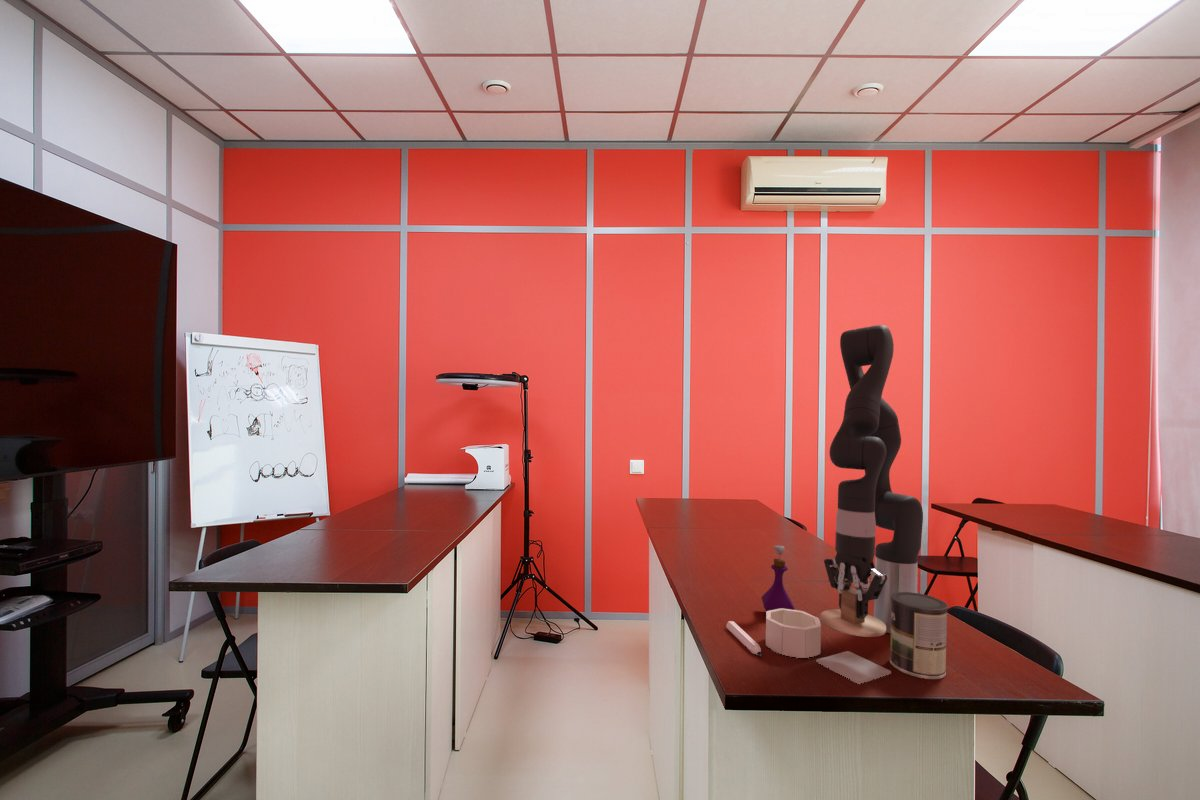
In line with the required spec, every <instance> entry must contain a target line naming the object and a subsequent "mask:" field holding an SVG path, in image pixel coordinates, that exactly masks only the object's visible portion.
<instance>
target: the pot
mask: <svg viewBox="0 0 1200 800" xmlns="http://www.w3.org/2000/svg"><path fill="white" fill-rule="evenodd" d="M765 613H766V614H765V615H766V616H765V647H767V648H768V649H769V648H770V649H771V651H772V652H773V653H775V652H776V653H775V654H778V653H779V654H778V655H780V654H782V655H781V656H783V655H785V656H784V657H786V656H790V657H789V658H791V657H796V658H795V659H798V658H808V659H810V658H809V657H813V658H815V657H817V656H819V655H821V650H822V649H821V646H822V645H821V644H822V641H821V640H822V639H821V638H822V624H821V620H820V617H817V616H814V615H812V614H810V613H808V612H806V611H804V610H803V611H802V610H800V609H795V610H791V609H784V608H782V609H781V608H780V609H775V610H770V611H766V610H765ZM770 649H769V650H770ZM814 656H815V657H814Z"/></svg>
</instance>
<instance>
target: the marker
mask: <svg viewBox="0 0 1200 800" xmlns="http://www.w3.org/2000/svg"><path fill="white" fill-rule="evenodd" d="M726 623H727V624H726V625H725V627H726V628H727V629H726V630H728V631H729V632H730V633H731V634H732V635H733V636H734V637H735V638H736V639H737V640H738V641H739V642H740V643H741V644H742V645H743V646H744V647H745V646H746V647H747V648H746V647H745V648H746V649H747V650H749V651H750V653H752V654H754V655H755V654H756V656H759V657H763V656H762V653H761V652H762V647H760V644H759V643H757V641H755V639H753V638H752V637H751V636H750V635H749V634H748V633H747V632H746V631H744V630H743V628H741V627H740V626H739V625H738V624H737V623H736V622H735V621H733V620H729V621H727V622H726Z"/></svg>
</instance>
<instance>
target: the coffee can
mask: <svg viewBox="0 0 1200 800" xmlns="http://www.w3.org/2000/svg"><path fill="white" fill-rule="evenodd" d="M891 600H892V605H891V634H890V647H889V648H890V650H889V651H890V653H889V656H890V657H889V663H890V665H891V666H892V667H893V668H895V669H896V670H898V671H899V672H901V673H903V674H906V675H907V676H911V677H914V678H919V679H923V678H924V680H941V679H943V678H945V677H946V676H947V672H946V665H947V664H946V663H947V662H946V661H947V658H946V657H947V629H948V628H947V626H948V625H947V624H948V622H947V621H948V609H949V605H948V604H947V603H946V602H945V601H943V600H942V599H940V598H937V597H935V596H931V595H927V594H923V593H919V592H918V593H911V592H897V593H893V594H892V595H891Z"/></svg>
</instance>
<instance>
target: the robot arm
mask: <svg viewBox="0 0 1200 800" xmlns="http://www.w3.org/2000/svg"><path fill="white" fill-rule="evenodd" d="M893 339H894V338H893V334H892V332H891V330H890V328H889V327H888V326H886V325H884V324H879V325H878V324H876V325H871V326H870V325H869V326H865V327H860V328H855V329H854V328H853V329H850V330H845V331H843V332H842V333H841V335H840V339H839V347H840V353H841V357H842V362H843V366H844V369H845V373H846V376H847V382H848V385H849V388H850V391H849V392H848V395H846V399H845V405H844V411H843V419H842V422H841V425H840V427H839V429H837V432H836V433H835V436H834V437H833V439H832V441H831V444H830V447H829V458H830V461H831V462H832V464H833V465H834V466H835V467H836V468H840V469H849V470H850V469H851V470H859V471H860V470H862V471H864V475H863V477H860V478H857V479H848V480H847V479H846V480H841V481H840V482H839V484H838V488H837V509H836V510H837V511H836V516H835V517H836V518H835V533H834V535H835V536H834V538H835V540H834V543H835V544H834V550H835V553H836V555H835V556H834V558H833V557H831V558H825V559H824V560H823V563H824V566H825V570H826V573H827V577H828V581H829V585H830V586H831V588H833V589H836V590H837V592H838V607H839V609H840V610H841V593H842V590H844V589H849V588H852V583H853V589H856V593H857V599H858V600H857V609H856V617H857V618H859V619H863V618H865V617H866V616H867V615H869V602H870V601H874V602H873V605H874V606H873V617H875V618H877V619H879V620H881V621H882V622H884V623H885V625H886V633H887V634H890V635H891V605H892V600H891V595H892V594H893V593H897V592H911V593H919V591H918V567H919V566H918V560H919V554H920V551H921V549H922V548H921V547H922V536H923V535H922V534H923V525H924V523H923V522H924V512H923V511H924V510H923V506H922V504H921V502H920V500H919V499H918V498H917V497H914V496H912V495H906V494H902V493H897V492H896V493H895V492H893V490H892V487H891V482H890V481H891V480H890V471H891V469H892V466H893V464H894V461H895V459H896V457H897V455H898V454H899V452H900V451H899V450H900V449H901V445H902V436H901V435H902V434H901V431H900V429H901V428H900V425H899V419H898V418H899V417H898V415H897V413H896V411H895V410H894V409H893V408H892V406H890V404H889V403H888V402H887V401H886V400H885V398H883V392H884V388H885V384H886V381H887V378H888V376H889V371H890V368H891V364H892V360H893V356H894V352H895V351H894V340H893ZM867 366H869V368H868V369H867V370H866V371H865V373H864V371H863V370H864V369H863V367H867ZM876 527H878V528H881V529H885V530H889V531H893V536H892V540H891V541H888V542H880V543H877V544H876ZM874 559H875V560H874ZM870 577H871V578H870Z"/></svg>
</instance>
